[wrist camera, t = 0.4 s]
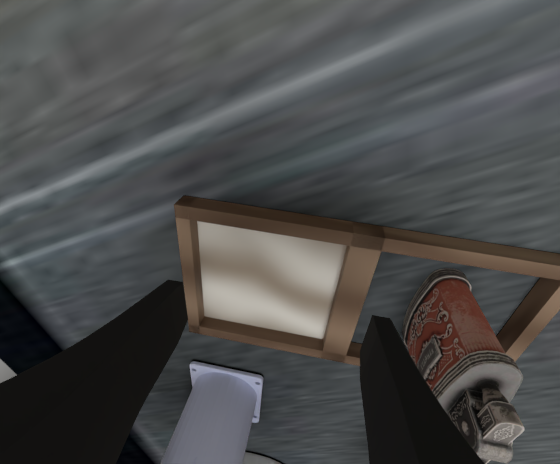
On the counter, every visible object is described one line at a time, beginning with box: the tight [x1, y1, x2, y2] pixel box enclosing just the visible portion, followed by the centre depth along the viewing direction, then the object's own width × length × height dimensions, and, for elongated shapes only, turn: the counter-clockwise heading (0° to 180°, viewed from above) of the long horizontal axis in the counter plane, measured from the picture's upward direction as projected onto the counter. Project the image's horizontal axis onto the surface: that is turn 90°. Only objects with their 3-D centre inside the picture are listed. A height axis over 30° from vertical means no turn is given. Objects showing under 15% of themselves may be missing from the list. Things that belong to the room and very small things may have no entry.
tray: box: [174, 196, 560, 366], centre depth 23 cm, size 13×26×2 cm, turn 85°
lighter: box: [402, 268, 524, 464], centre depth 18 cm, size 8×3×10 cm, turn 175°
